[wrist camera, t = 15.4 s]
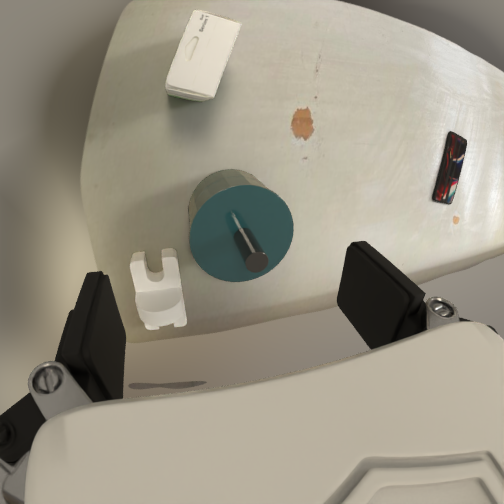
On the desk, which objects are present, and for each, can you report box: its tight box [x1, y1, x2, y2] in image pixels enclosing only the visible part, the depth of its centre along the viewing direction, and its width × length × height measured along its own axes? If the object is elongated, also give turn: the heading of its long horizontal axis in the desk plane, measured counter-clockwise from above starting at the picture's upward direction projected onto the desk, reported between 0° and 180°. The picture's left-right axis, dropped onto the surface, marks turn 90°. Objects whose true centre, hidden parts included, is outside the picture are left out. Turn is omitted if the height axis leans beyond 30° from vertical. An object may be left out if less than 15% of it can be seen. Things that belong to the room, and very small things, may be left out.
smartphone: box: [433, 131, 467, 204], centre depth 49 cm, size 7×1×15 cm
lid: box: [189, 184, 293, 282], centre depth 33 cm, size 13×13×6 cm
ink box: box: [165, 10, 242, 102], centre depth 26 cm, size 9×5×12 cm, turn 162°
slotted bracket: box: [130, 248, 187, 330], centre depth 42 cm, size 13×7×8 cm, turn 0°
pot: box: [188, 169, 267, 226], centre depth 39 cm, size 12×12×8 cm
